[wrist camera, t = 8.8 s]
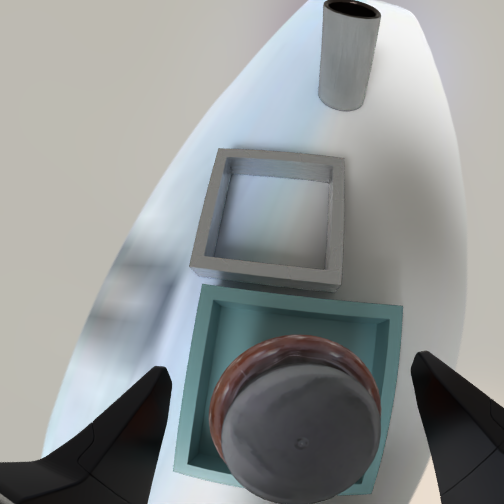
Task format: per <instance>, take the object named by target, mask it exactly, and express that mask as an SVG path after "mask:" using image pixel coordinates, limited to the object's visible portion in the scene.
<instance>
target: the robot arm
mask: <svg viewBox="0 0 504 504" xmlns="http://www.w3.org/2000/svg"><path fill="white" fill-rule="evenodd" d="M411 376H412V381H413V385H414V390H415V395H416V401H417V405H418V409H419V413H420V416H421V420H422V423H423V426H424V430H425V433H426V437H427V441H428V444H429V448H430V452H431V456H432V460H433V464H434V469H435V473H436V478H437V482H438V487H439V492H440V496H441V497H440V498H441V503H442V504H504V408H503V407H502V406H500V405H499V404H498V403H496V402H495V401H494V400H492V399H490V397H488V396H487V395H486V394H485V393H483V392H482V391H480V390H479V389H478V388H477V387H475V386H474V385H473V384H471V383H470V382H469V381H467V380H466V379H465V378H463V377H462V376H461V375H459V374H458V373H457V372H455V371H454V370H453V369H451V368H450V367H449V366H447V365H446V364H445V363H443V362H442V361H441V360H439V359H438V358H437V357H435V356H434V355H433V354H431V353H430V352H428V351H421V352H418V353H417V354H416V355H415V358H414V361H413V364H412V366H411ZM171 391H172V381H171V378H170V376H169V373H168V371H167V369H166V368H165V367H163V366H154V367H153V368H152V369H151V370H150V371H148V372H147V373H146V374H145V375H144V376H143V377H142V378H141V379H140V380H138V381H137V382H136V383H135V384H134V385H133V386H132V387H131V388H130V389H129V390H127V391H126V392H125V393H124V394H123V395H122V396H121V397H120V398H118V399H117V400H116V401H115V402H114V403H113V404H112V405H111V406H110V407H108V408H107V409H106V410H105V411H104V412H103V413H102V414H101V415H99V416H98V417H97V418H96V419H95V420H94V421H93V423H90V424H89V425H88V426H87V427H86V428H85V429H83V430H82V431H81V432H80V433H78V434H77V435H76V436H75V437H73V438H72V439H71V440H69V441H68V442H66V443H65V444H64V445H62V446H61V447H59V448H58V449H56V450H55V451H53V452H52V453H50V454H49V455H47V456H46V457H44V458H42V459H40V460H37V461H32V462H5V463H4V462H2V463H1V462H0V504H147V503H148V499H149V494H150V490H151V486H152V481H153V477H154V473H155V469H156V465H157V461H158V456H159V452H160V448H161V444H162V440H163V437H164V433H165V429H166V425H167V420H168V413H169V405H170V398H171Z"/></svg>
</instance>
